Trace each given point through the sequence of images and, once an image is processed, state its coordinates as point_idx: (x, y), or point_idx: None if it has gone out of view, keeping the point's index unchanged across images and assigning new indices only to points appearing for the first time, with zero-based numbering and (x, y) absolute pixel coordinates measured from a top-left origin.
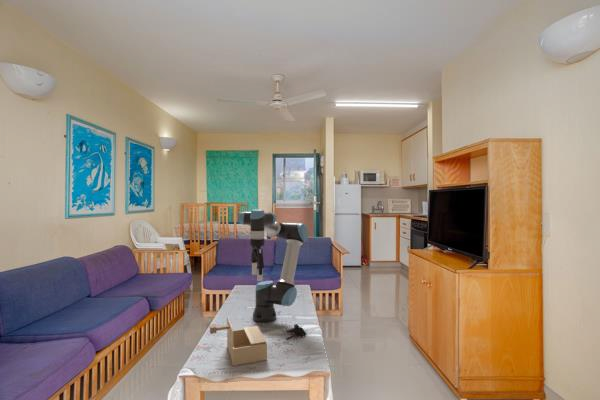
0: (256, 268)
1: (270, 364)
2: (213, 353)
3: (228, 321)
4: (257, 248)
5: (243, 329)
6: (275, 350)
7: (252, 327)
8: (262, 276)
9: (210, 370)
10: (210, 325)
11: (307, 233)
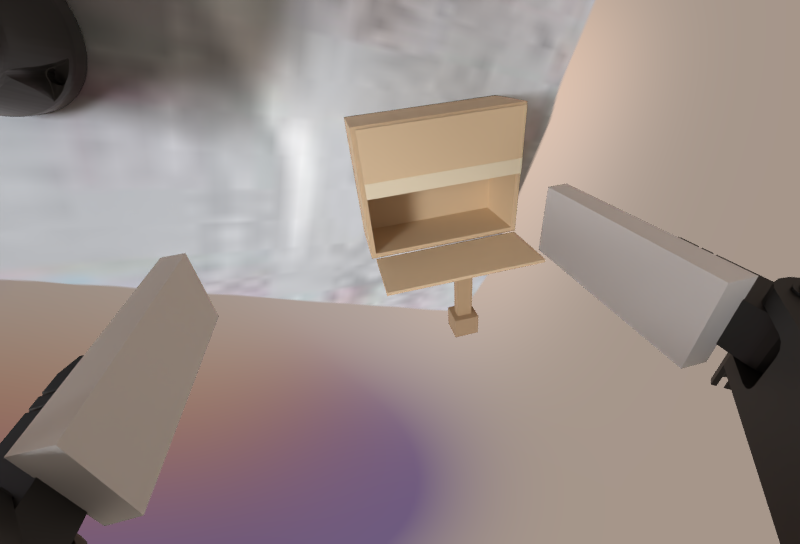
0: (145, 326)
1: (524, 85)
2: None
3: (436, 282)
4: None
5: (365, 196)
6: (436, 41)
7: (371, 157)
8: (608, 208)
9: None
10: (456, 335)
11: None
